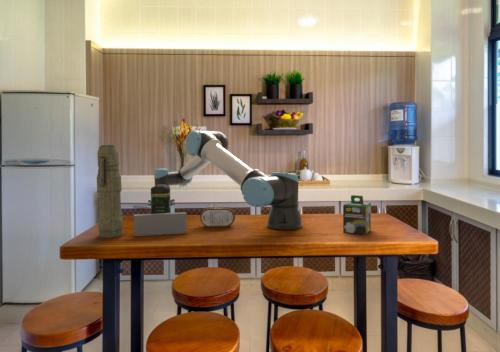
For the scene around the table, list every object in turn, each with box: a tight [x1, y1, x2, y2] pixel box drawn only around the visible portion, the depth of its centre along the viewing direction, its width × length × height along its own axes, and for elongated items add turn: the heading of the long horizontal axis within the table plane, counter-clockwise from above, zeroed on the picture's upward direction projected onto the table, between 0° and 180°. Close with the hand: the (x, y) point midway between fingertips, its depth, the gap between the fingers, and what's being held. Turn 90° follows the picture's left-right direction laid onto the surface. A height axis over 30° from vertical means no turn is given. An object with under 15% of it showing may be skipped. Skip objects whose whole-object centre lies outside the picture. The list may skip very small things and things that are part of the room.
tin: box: [199, 206, 236, 228], centre depth 154 cm, size 15×3×8 cm, turn 92°
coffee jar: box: [150, 184, 172, 214], centre depth 152 cm, size 10×8×19 cm
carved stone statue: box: [96, 144, 124, 239], centre depth 138 cm, size 9×12×35 cm
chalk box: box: [342, 194, 372, 236], centre depth 143 cm, size 9×9×15 cm
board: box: [133, 211, 188, 237], centre depth 141 cm, size 3×20×8 cm, turn 103°
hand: (160, 207), depth 160 cm, fingers closed
